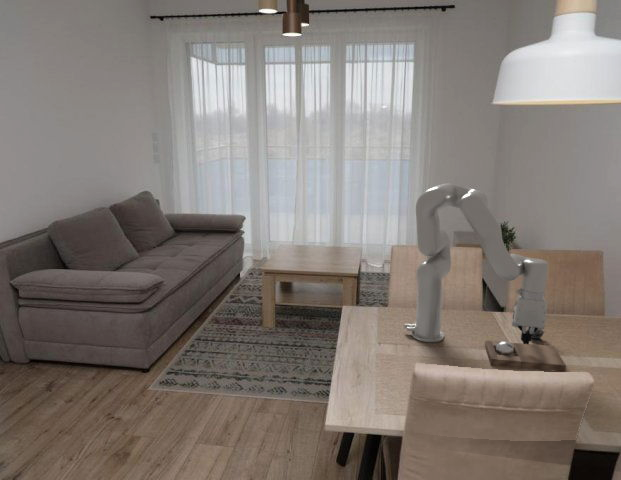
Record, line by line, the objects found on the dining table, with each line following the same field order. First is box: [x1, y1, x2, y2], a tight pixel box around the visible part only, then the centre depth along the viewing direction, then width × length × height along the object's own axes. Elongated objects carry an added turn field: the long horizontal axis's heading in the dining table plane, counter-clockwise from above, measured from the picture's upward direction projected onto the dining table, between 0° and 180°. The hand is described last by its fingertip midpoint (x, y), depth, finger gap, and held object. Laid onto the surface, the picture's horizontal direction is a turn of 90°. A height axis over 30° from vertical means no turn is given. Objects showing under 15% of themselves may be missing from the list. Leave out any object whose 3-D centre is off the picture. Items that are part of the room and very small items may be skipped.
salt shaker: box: [530, 329, 545, 343], centre depth 190 cm, size 6×6×12 cm
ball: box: [496, 340, 514, 356], centre depth 176 cm, size 6×6×6 cm
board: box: [484, 340, 567, 372], centre depth 175 cm, size 24×15×2 cm, turn 78°
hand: (525, 342), depth 174 cm, fingers closed
